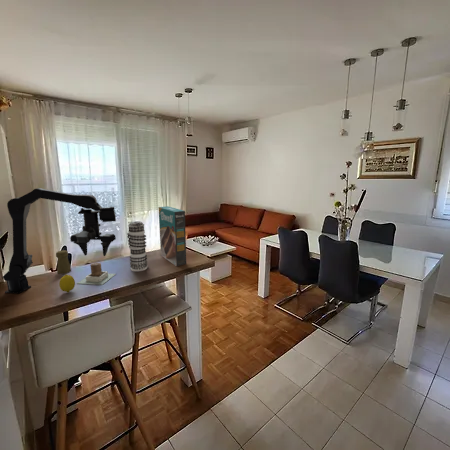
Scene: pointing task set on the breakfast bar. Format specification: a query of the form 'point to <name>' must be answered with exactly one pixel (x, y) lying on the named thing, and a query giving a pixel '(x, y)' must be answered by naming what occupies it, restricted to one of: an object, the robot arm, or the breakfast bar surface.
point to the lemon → (67, 283)
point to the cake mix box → (172, 235)
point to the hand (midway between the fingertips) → (95, 255)
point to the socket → (97, 279)
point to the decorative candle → (137, 246)
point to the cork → (63, 262)
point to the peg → (96, 269)
